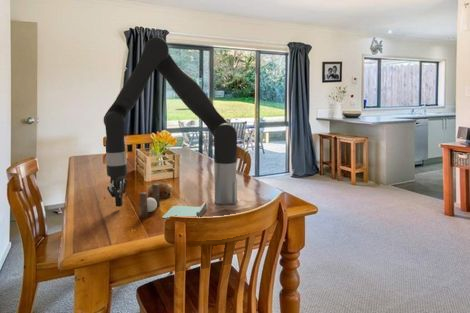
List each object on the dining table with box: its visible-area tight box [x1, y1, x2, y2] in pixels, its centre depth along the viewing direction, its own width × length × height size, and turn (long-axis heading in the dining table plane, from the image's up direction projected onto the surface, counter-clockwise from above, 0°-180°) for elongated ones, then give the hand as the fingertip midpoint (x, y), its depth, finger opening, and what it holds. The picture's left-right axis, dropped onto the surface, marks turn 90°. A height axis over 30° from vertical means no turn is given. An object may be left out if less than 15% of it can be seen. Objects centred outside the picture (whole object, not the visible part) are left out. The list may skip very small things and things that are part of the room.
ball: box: [147, 197, 158, 213], centre depth 138 cm, size 6×6×6 cm
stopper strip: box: [196, 202, 207, 217], centre depth 136 cm, size 1×12×2 cm, turn 172°
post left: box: [139, 191, 149, 219], centre depth 132 cm, size 3×3×9 cm
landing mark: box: [161, 205, 208, 219], centre depth 137 cm, size 14×14×1 cm
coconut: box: [147, 181, 172, 200], centre depth 160 cm, size 10×10×8 cm
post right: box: [151, 183, 161, 208], centre depth 144 cm, size 3×3×9 cm
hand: (119, 206), depth 140 cm, fingers closed
